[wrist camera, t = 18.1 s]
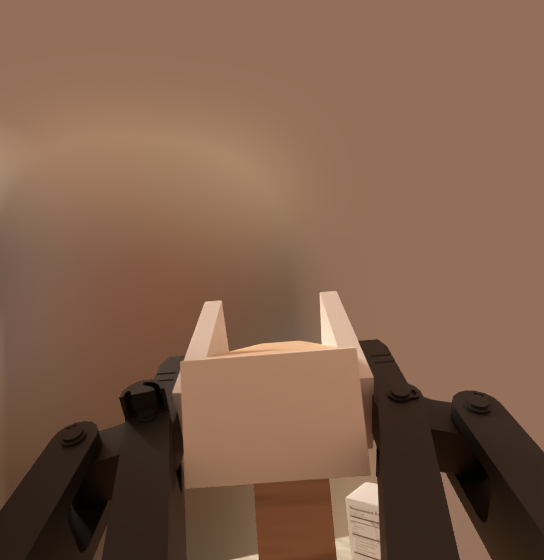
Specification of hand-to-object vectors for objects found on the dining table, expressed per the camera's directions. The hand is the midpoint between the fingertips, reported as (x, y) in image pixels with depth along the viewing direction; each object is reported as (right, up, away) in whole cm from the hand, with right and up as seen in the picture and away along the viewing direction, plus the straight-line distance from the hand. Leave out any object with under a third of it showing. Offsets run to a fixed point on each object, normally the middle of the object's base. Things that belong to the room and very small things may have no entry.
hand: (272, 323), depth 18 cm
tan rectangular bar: (+1, -6, +9) cm, 10 cm away
